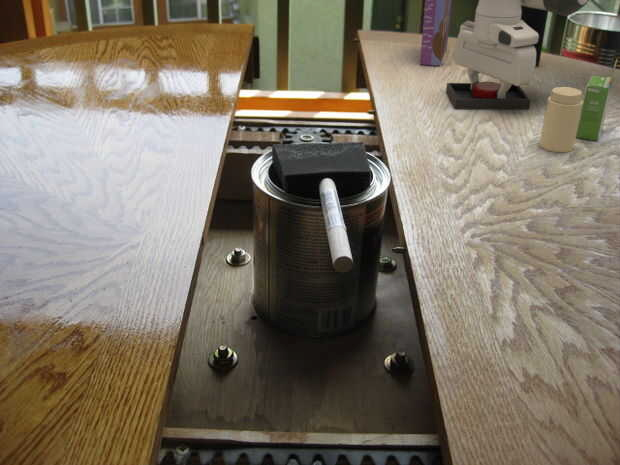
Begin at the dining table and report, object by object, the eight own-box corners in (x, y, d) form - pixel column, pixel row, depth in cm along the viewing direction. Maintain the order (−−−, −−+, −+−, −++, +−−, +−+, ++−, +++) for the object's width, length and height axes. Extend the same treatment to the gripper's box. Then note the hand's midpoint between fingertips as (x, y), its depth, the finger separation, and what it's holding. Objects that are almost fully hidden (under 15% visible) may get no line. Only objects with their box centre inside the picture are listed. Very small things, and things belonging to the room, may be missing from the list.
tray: (515, 92, 144) (517, 83, 143) (529, 109, 134) (531, 99, 133) (445, 92, 144) (446, 82, 143) (454, 109, 135) (455, 99, 134)
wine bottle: (540, 61, 166) (563, -69, 151) (537, 68, 161) (560, -67, 146) (514, 59, 168) (534, -70, 153) (510, 65, 163) (530, -68, 148)
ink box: (580, 125, 126) (595, 55, 119) (602, 129, 124) (618, 58, 118) (574, 137, 121) (590, 65, 114) (597, 141, 119) (614, 68, 112)
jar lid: (475, 99, 136) (476, 90, 135) (469, 89, 141) (470, 81, 140) (505, 98, 136) (506, 90, 135) (498, 89, 141) (499, 81, 140)
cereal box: (439, 66, 162) (449, -38, 150) (419, 65, 163) (428, -39, 151) (446, 49, 177) (456, -48, 165) (428, 48, 178) (437, -48, 166)
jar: (567, 140, 120) (578, 85, 115) (578, 152, 115) (590, 96, 110) (535, 140, 120) (544, 85, 115) (545, 152, 115) (555, 96, 110)
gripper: (450, 20, 138) (443, 84, 145) (521, 40, 123) (510, 111, 130) (473, 17, 141) (466, 80, 148) (545, 36, 126) (533, 106, 132)
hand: (487, 95), depth 139 cm, fingers closed on jar lid, 6 cm apart
